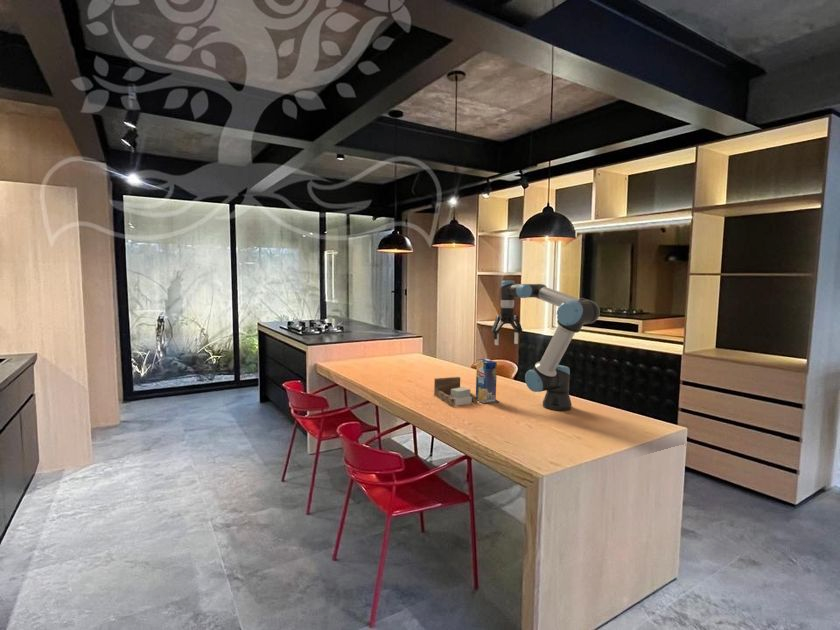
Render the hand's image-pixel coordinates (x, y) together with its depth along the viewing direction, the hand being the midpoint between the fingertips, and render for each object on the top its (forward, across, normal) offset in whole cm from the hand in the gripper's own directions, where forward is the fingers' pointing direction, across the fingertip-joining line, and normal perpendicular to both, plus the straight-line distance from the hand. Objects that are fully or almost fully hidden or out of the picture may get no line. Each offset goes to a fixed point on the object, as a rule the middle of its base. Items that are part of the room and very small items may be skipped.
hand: (506, 344), depth 262 cm
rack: (+31, +28, -8) cm, 43 cm away
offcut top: (+28, +29, -1) cm, 40 cm away
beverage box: (+31, +13, -1) cm, 34 cm away
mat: (+31, +13, -1) cm, 34 cm away
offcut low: (+32, +29, -1) cm, 43 cm away
